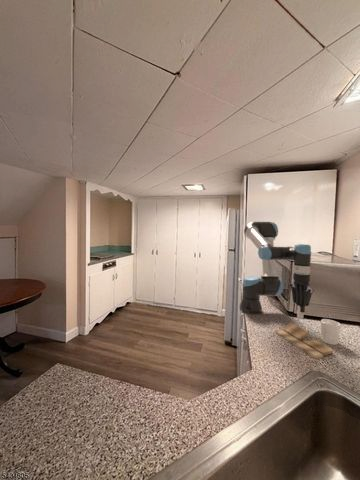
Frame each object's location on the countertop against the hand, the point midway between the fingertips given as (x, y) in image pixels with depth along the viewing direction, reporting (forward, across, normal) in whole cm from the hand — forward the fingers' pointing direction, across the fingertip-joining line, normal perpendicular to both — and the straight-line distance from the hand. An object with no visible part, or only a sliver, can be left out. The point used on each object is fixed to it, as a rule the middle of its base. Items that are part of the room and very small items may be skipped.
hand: (300, 317), depth 108 cm
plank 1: (+8, 0, -2) cm, 8 cm away
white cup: (+10, +8, +10) cm, 17 cm away
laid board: (+10, +6, -8) cm, 14 cm away
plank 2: (+10, +12, -2) cm, 15 cm away
